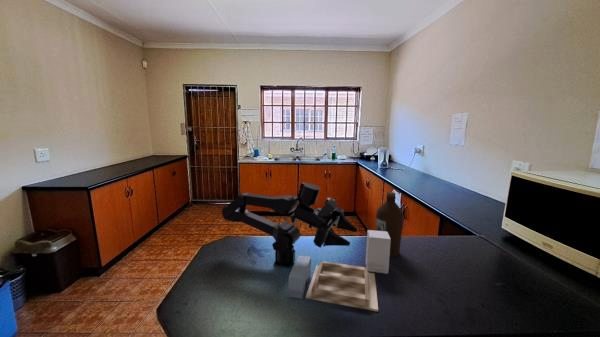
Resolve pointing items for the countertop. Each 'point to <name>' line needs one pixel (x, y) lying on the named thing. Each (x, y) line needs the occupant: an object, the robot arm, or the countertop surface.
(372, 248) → the supplement box
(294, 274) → the grey rectangular block
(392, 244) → the olive oil
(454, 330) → the countertop surface
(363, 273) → the divided wooden tray
